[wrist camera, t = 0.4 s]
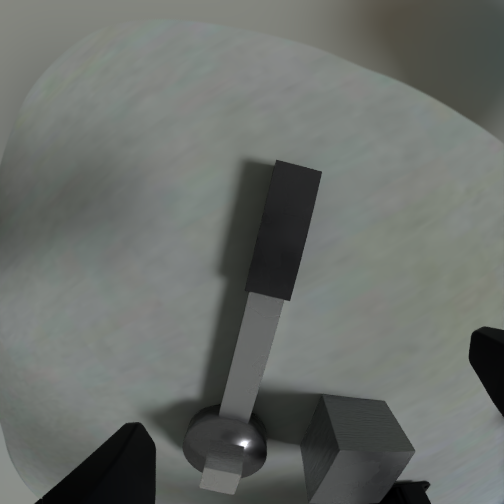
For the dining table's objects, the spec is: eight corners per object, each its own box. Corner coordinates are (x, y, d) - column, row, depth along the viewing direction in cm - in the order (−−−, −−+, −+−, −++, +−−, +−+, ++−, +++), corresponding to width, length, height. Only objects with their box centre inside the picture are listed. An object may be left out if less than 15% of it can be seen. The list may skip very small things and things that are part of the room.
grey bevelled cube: (359, 450, 23) (379, 502, 16) (300, 445, 23) (308, 503, 16) (384, 401, 22) (415, 451, 15) (322, 394, 22) (340, 450, 15)
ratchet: (255, 465, 23) (254, 512, 17) (184, 450, 23) (170, 494, 17) (341, 183, 20) (368, 172, 15) (248, 159, 20) (243, 139, 15)
